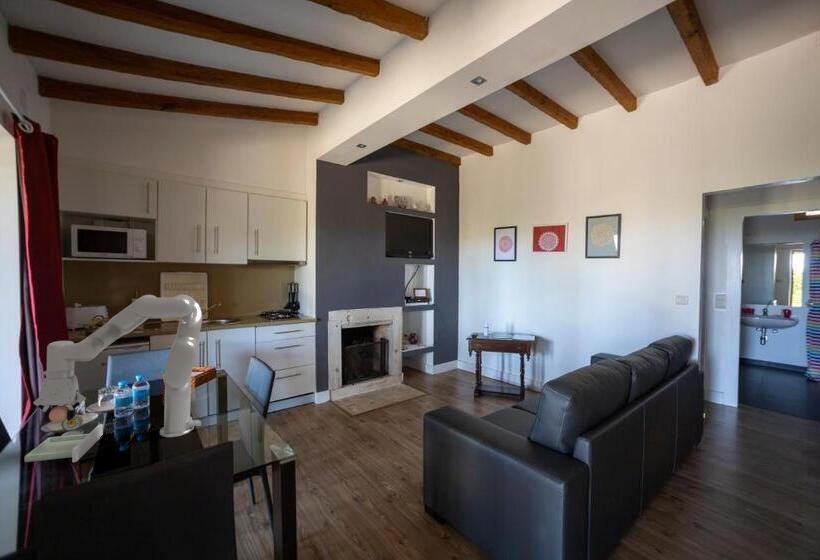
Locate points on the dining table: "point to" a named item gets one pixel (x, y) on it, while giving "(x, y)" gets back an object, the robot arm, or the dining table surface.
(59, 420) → the ball
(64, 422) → the pocket watch
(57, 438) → the tray
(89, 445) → the wall
